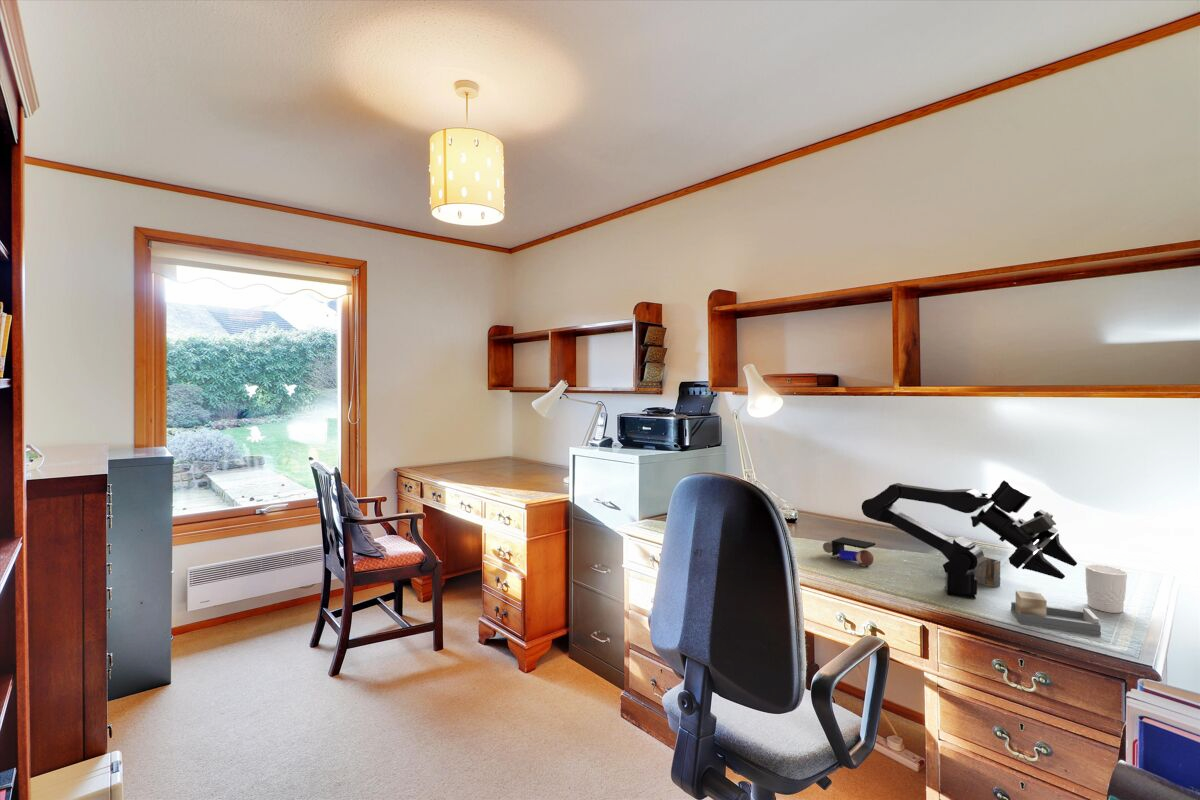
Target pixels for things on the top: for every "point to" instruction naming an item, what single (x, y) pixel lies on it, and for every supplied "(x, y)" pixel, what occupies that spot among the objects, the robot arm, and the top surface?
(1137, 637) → the top surface
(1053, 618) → the chute
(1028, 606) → the birch block
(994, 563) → the brown piece
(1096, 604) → the white cup
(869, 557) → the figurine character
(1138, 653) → the top surface
